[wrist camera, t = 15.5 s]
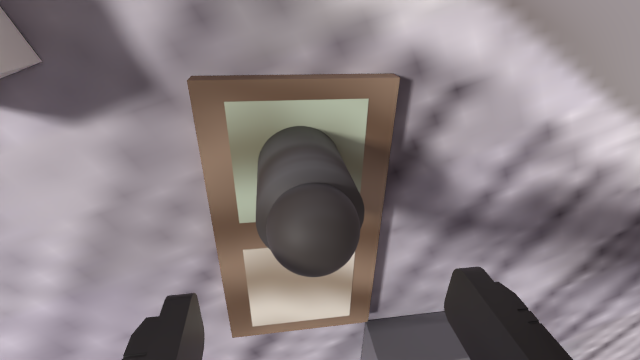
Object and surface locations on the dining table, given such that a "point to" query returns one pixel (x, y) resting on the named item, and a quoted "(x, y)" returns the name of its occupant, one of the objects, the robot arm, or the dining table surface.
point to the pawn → (307, 202)
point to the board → (241, 188)
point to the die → (14, 48)
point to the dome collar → (412, 339)
